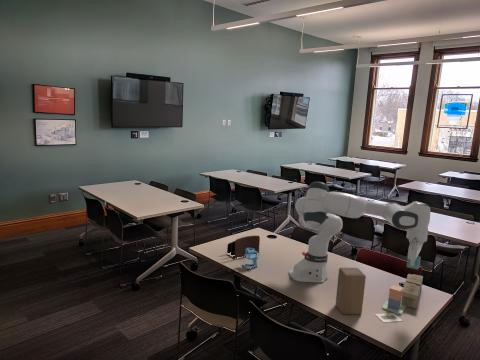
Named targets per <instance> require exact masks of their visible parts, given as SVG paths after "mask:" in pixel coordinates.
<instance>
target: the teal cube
mask: <svg viewBox="0 0 480 360" xmlns="http://www.w3.org/2000/svg"><path fill="white" fill-rule="evenodd" d="M421 258H422V257H421V256H420V255H418V256H417V259H416V260H415V265H414V266H411V265H410V259H408V258H407V260H406V268H410V269H414V270H419V268H420V266H421V265H420V264H421Z"/></svg>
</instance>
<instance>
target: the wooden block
mask: <svg viewBox="0 0 480 360" xmlns="http://www.w3.org/2000/svg"><path fill="white" fill-rule="evenodd" d="M366 279H367V277H366V275H365V273H363V271H361V270H360V268H358V267H339V268H338V277H337V285H336V296H335V306H336V307H337V309H338V310H339V312H340V313H341V314H342V315H362V312H363V306H364V305H363V303H364V295H365V287H366Z"/></svg>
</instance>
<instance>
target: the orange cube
mask: <svg viewBox="0 0 480 360" xmlns="http://www.w3.org/2000/svg"><path fill="white" fill-rule="evenodd" d="M403 288H404V287H401V286H397V285H396V284H395V285H394V284H391V286H390V287H389V293H388V299H389V298H391V299H394V300H398V301H400V299H401V300H402V291H403Z"/></svg>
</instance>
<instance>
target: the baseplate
mask: <svg viewBox="0 0 480 360" xmlns="http://www.w3.org/2000/svg"><path fill="white" fill-rule="evenodd" d="M401 300H402V298H401V299H400V301H398V300H394V299H391V298H389V297H388V300H386V301H385V302H384V304H383V305H382V307H381V309H382V310H384V311H388V312H389V313H393V312H394V314H396V315H400V316H402V315H403V313H404V311H405V308H406V306H404V305H401Z"/></svg>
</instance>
